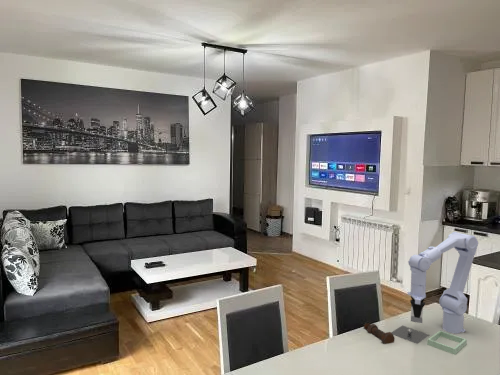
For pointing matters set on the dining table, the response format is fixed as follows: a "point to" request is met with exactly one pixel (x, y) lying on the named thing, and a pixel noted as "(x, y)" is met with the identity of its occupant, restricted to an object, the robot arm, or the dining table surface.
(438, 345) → the parts tray
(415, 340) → the stud plate
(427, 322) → the dining table surface
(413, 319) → the grey metal block
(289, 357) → the dining table surface
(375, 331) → the bolt
